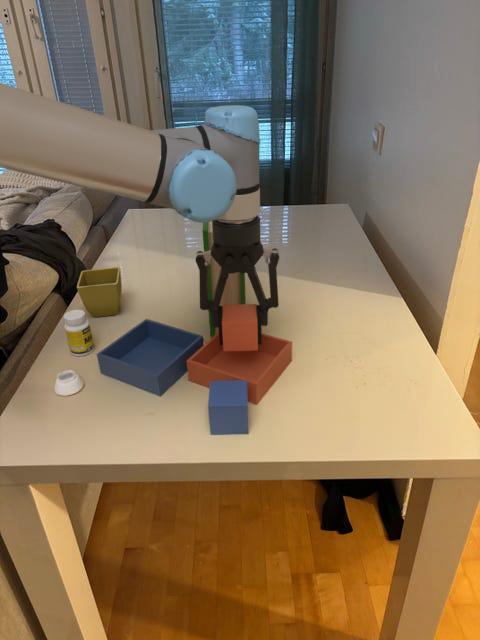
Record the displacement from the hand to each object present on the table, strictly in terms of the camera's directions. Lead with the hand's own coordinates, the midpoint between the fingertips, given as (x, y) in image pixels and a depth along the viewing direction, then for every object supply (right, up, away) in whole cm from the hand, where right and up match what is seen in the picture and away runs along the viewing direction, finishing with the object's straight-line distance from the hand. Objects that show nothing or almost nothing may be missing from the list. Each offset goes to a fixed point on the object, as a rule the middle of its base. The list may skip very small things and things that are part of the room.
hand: (240, 340), depth 84 cm
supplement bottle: (-32, -3, +11) cm, 34 cm away
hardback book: (-3, +4, +20) cm, 20 cm away
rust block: (0, 0, 0) cm, 0 cm away
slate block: (-2, -13, -8) cm, 15 cm away
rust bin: (0, -6, +3) cm, 7 cm away
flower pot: (-31, +5, +24) cm, 40 cm away
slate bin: (-17, -5, +6) cm, 19 cm away
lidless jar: (-31, -9, +1) cm, 32 cm away
